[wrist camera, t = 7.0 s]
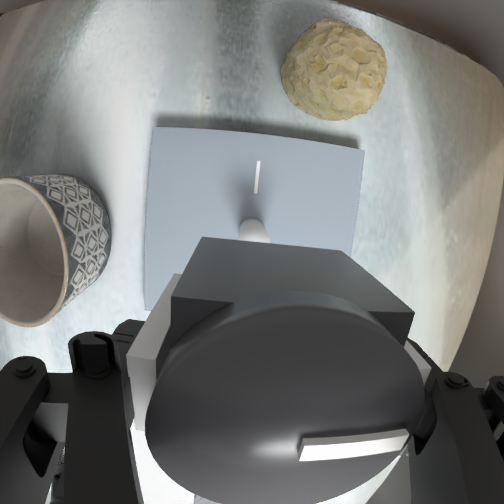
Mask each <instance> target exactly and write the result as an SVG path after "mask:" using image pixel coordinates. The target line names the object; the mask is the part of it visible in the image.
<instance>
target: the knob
mask: <svg viewBox="0 0 504 504" xmlns="http://www.w3.org/2000/svg"><path fill="white" fill-rule="evenodd" d="M414 314H415V312H414V311H413V310H412V309H410V308H409V307H408V306H407V305H406V304H405V303H404V302H402V301H401V300H400V299H399V298H398V297H397V296H395V295H394V294H393V293H392V292H391V291H390V290H388V289H387V288H386V287H385V286H384V285H383V284H381V283H380V282H379V281H378V280H377V279H375V278H374V277H373V276H372V275H371V274H369V273H368V272H367V271H366V270H365V269H363V268H362V267H361V266H360V265H359V264H357V263H356V262H355V261H354V260H352V259H351V258H350V257H349V256H348V255H346V254H345V253H344V252H343V251H341V250H332V249H323V248H313V247H303V246H293V245H283V244H274V243H263V242H253V241H243V240H233V239H222V238H212V237H201V239H200V241H199V243H198V245H197V247H196V249H195V250H194V252H193V254H192V256H191V258H190V260H189V262H188V264H187V266H186V268H185V269H184V271H183V273H182V275H181V277H180V279H179V281H178V283H177V285H176V287H175V289H174V291H173V293H172V295H171V321H170V346H171V350H170V351H169V353H168V355H167V356H166V358H165V360H164V362H163V365H162V367H161V370H160V373H159V376H158V378H157V381H156V384H155V387H154V390H153V393H152V396H151V399H150V402H149V405H148V408H147V412H146V418H145V436H146V440H147V444H148V447H149V449H150V451H151V453H152V456H153V458H154V459H155V460H156V462H157V463H158V465H159V466H160V468H161V469H162V470H163V471H164V472H165V473H166V474H167V475H168V476H169V477H170V478H171V479H173V480H174V481H175V482H176V483H178V484H179V485H180V486H182V487H184V488H185V489H187V490H188V491H190V492H192V493H194V494H196V495H198V496H200V497H202V498H205V499H208V500H210V501H213V502H216V503H220V504H316V503H319V502H323V501H326V500H329V499H332V498H334V497H337V496H340V495H342V494H344V493H346V492H348V491H350V490H353V489H355V488H356V487H358V486H360V485H362V484H363V483H365V482H367V481H368V480H370V479H371V478H373V477H374V476H375V475H377V474H378V473H380V472H381V471H382V470H383V469H384V468H386V467H387V466H388V465H389V464H390V463H391V462H392V461H393V460H394V459H395V458H396V457H397V456H398V455H399V454H400V453H401V451H402V450H403V449H404V448H405V446H406V445H407V444H408V442H409V441H410V439H411V437H412V436H413V434H414V432H415V430H416V428H417V426H418V424H419V421H420V418H421V415H422V412H423V406H424V400H425V395H424V384H423V379H422V375H421V373H420V371H419V368H418V366H417V364H416V363H415V361H414V360H413V359H412V357H411V356H410V355H409V353H408V352H407V351H406V350H405V349H404V346H405V343H406V340H407V337H408V334H409V330H410V327H411V324H412V321H413V317H414Z"/></svg>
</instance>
